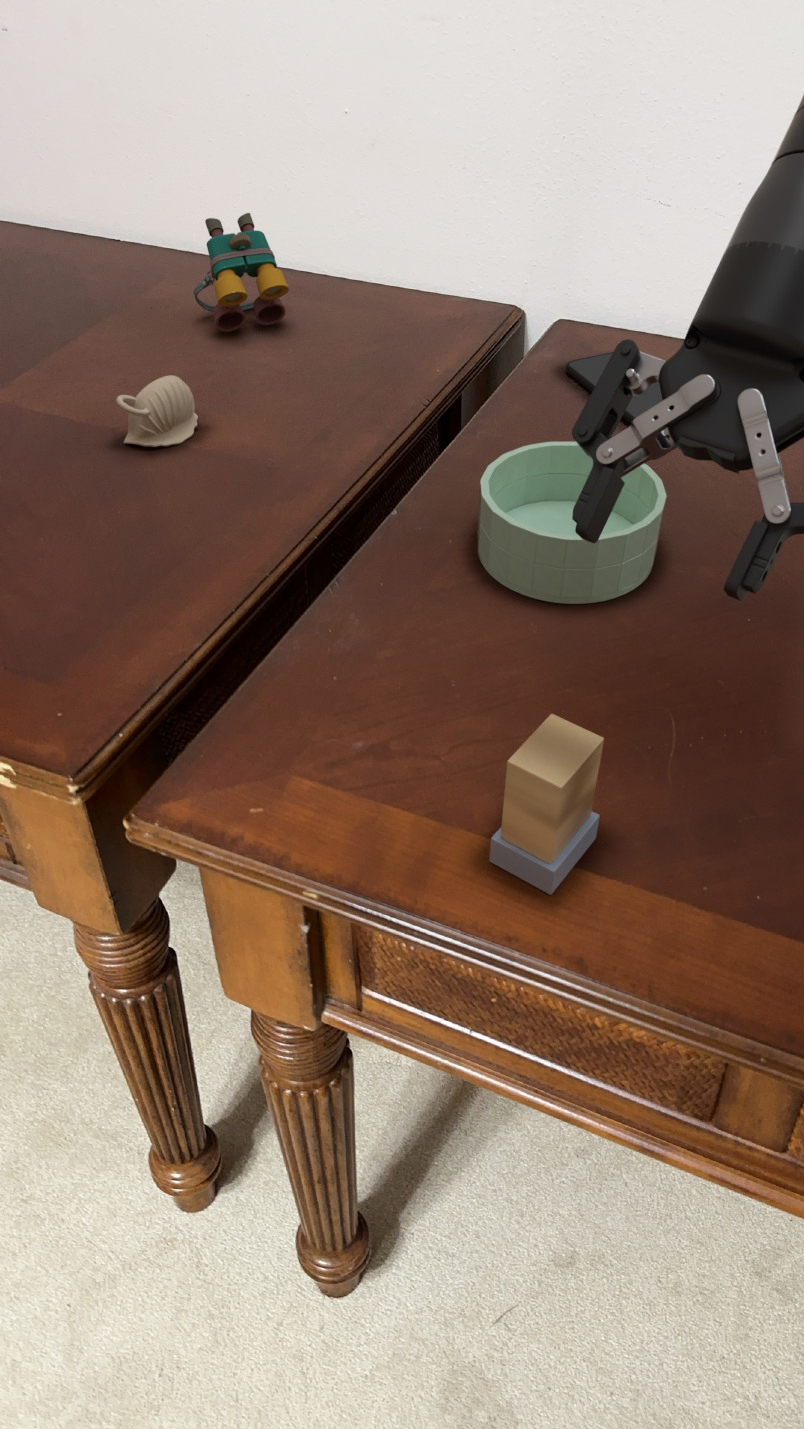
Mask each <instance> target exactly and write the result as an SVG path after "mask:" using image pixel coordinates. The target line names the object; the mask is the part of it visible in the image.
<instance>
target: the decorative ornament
mask: <svg viewBox="0 0 804 1429" xmlns="http://www.w3.org/2000/svg"><path fill="white" fill-rule="evenodd" d="M127 403H129V404H131V405H129V404H127ZM116 404H117V405H118V406H119V407H120V408H121V409H122V410H124V411H125V412H127V413H128V416H127V417H128V420H127V434H126V437H125V438H124V440H123V444H130V445H138V446H142V447H152V448H157V447H170V446H175V445H181V444H183V443H184V442H185V441H186V440H188V439H191V437H192V436H194V433H195V429H196V428H197V427H198V420H199V416H198V415H197V414H196V412H195V409H196V408H195V399H194V395H193V393H192V391H191V388H190V387H189V385H188V384H187V383H185V381H184V380H182V379H181V378H180V377H178V376H177V375H173V374H171V375H170V374H169V375H165V376H162V377H159V378H156V379H155V380H153V381H152V382H150V383H149V384H146V385H145V386H144V387H143V389H141V390H140V391H139V392H138V394H137V395H136V396H133V395H128V394H120V395H118V396H117V397H116Z"/></svg>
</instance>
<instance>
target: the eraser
mask: <svg viewBox="0 0 804 1429" xmlns="http://www.w3.org/2000/svg"><path fill="white" fill-rule="evenodd" d="M604 742H605V738H604V737H603V736H601V735H598V734H597V733H594V732H592V731H591V730H588V729H586V728H584V727H581V726H580V725H577V724H575V723H572V722H571V721H569V720H566V719H564V718H562V717H561V716H558V715H556V714H554V713H550V714H549V715H548V716H547V717H546V719H545V720H543V722H542V723H541V724H540V725H539V726H538V727H537V728H536V729H535V730H534V731H533V732H532V734H530V736H529V737H527V739H526V740H524V742H523V743H522V744H521V746H519V747H518V748H517V749H516V751H515V752H514V753H513V754H512V755H511V756H510V757H509V758H508V760H507V761H506V770H505V771H506V772H505V781H504V782H505V783H504V794H503V802H502V803H503V804H502V814H501V815H502V816H501V826H500V827H499V828H498V830H497V831H496V832H495V833H494V834H493V835H492V836H491V837H490V847H489V857H488V858H489V859H488V861H489V862H490V863H492V864H493V865H495V866H497V867H499V868H500V869H502V870H504V871H506V872H508V873H510V874H511V875H513V876H515V877H517V878H519V879H520V880H522V881H524V882H526V883H528V884H530V885H531V886H533V887H534V888H537V889H539V890H541V891H542V892H544V893H546V894H547V895H549V896H551V895H553V893H554V892H555V891H556V889H558V887H559V886H560V884H561V883H562V882H563V881H564V879H565V878H566V877H567V876H568V875H569V873H570V872H571V871H572V870H573V868H575V866H576V864H577V863H578V862H579V861H580V859H581V858H582V857H583V855H584V854H585V853H586V852H587V851H588V849H589V848H590V847H591V845H592V844H593V843H594V841H595V840H596V839H597V835H598V828H599V823H600V818H601V815H600V814H598V813H597V812H595V811H593V805H594V800H595V793H596V787H597V782H598V775H599V771H600V764H601V759H602V753H603V748H604Z"/></svg>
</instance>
